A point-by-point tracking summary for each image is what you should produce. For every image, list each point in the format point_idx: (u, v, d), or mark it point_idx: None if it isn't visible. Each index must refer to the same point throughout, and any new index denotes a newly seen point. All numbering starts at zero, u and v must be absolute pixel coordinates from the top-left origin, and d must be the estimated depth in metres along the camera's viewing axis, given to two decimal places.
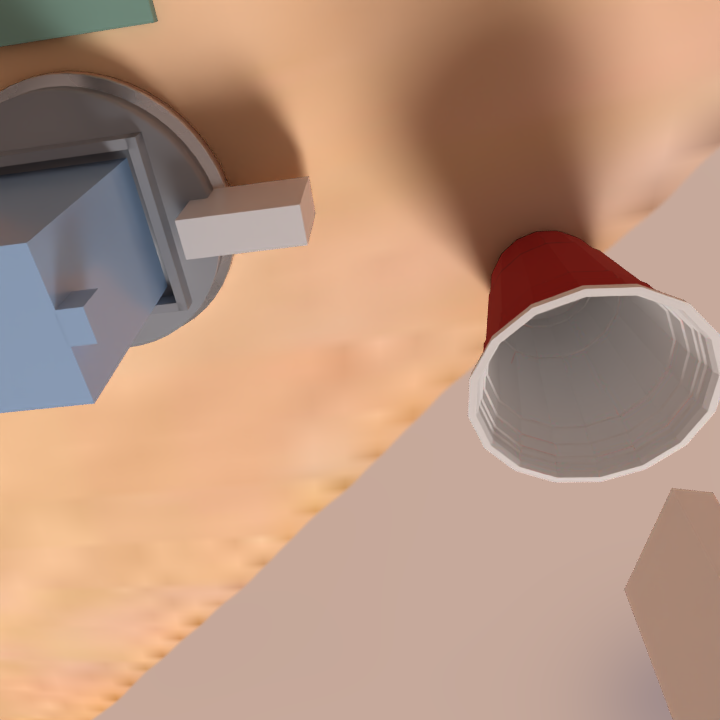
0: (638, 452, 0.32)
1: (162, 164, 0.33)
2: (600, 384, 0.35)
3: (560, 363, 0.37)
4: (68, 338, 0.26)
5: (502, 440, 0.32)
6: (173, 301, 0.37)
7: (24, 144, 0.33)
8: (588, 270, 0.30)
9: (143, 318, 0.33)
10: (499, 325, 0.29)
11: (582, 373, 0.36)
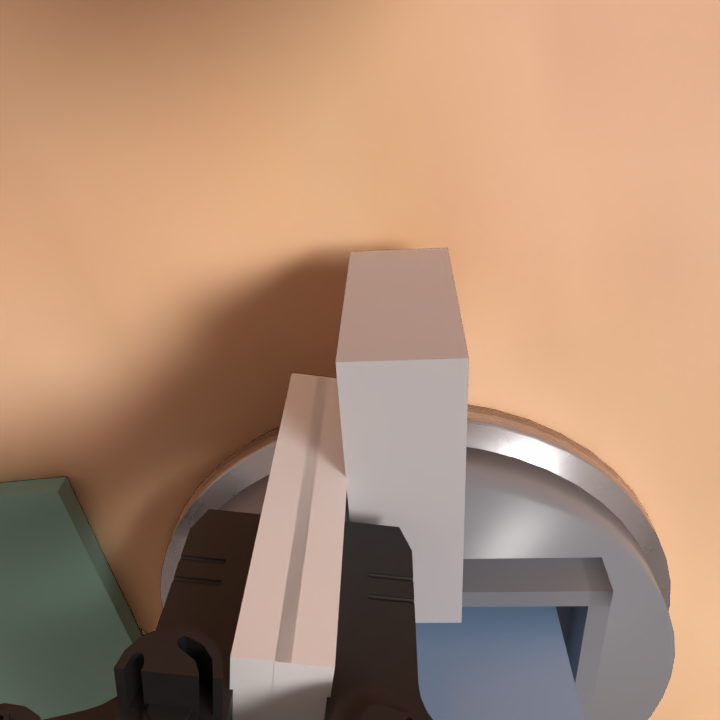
0: None
1: None
2: None
3: None
4: None
5: None
6: None
7: None
8: None
9: None
10: None
11: None
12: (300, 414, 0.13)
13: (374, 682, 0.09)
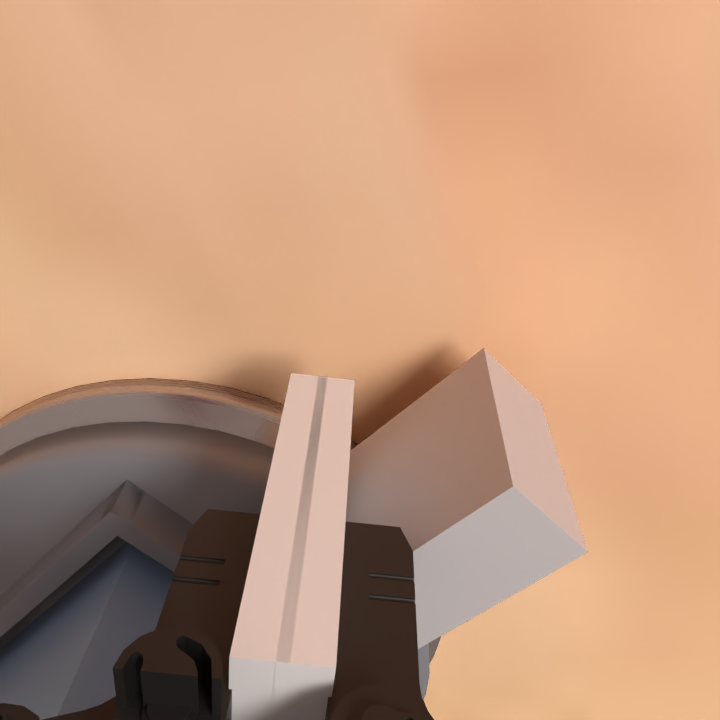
0: None
1: (201, 507, 0.15)
2: None
3: None
4: None
5: None
6: None
7: None
8: None
9: None
10: None
11: None
12: (300, 414, 0.13)
13: (375, 682, 0.09)
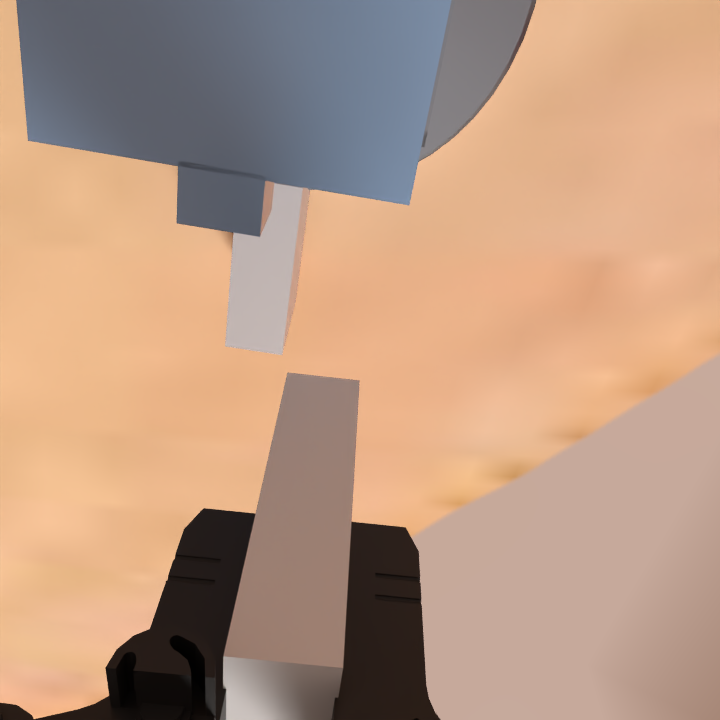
0: None
1: None
2: None
3: None
4: (195, 168, 0.12)
5: None
6: None
7: None
8: None
9: None
10: None
11: None
12: (296, 413, 0.13)
13: (382, 683, 0.09)
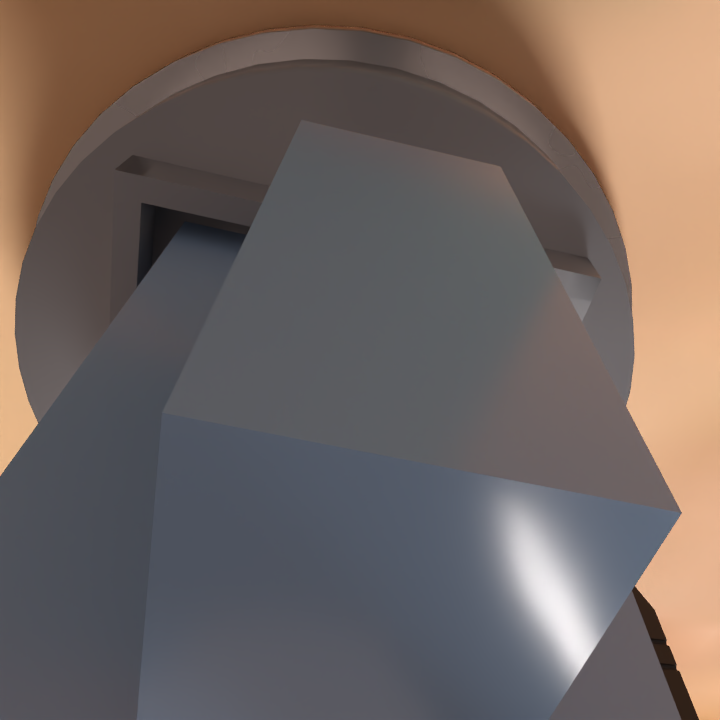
0: None
1: None
2: None
3: None
4: None
5: None
6: None
7: None
8: None
9: None
10: None
11: None
12: None
13: None
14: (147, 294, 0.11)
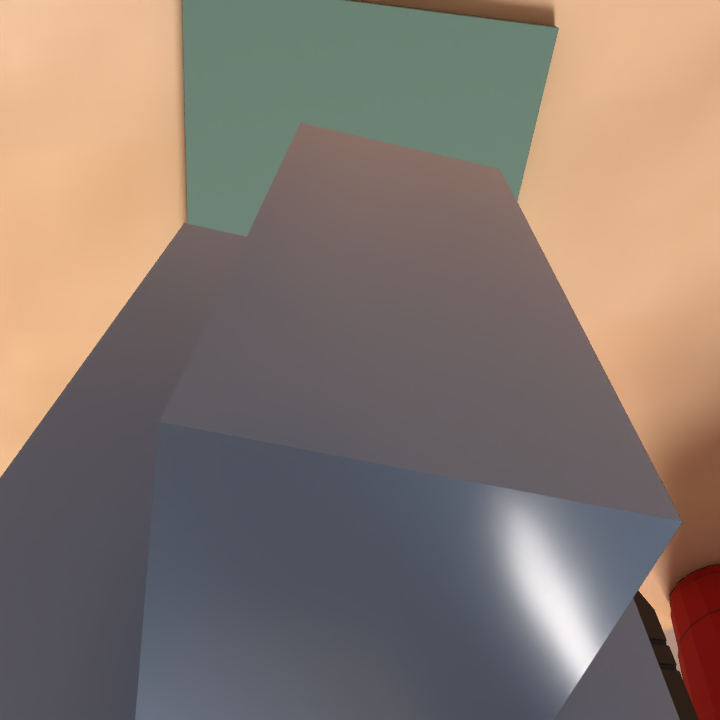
0: None
1: None
2: None
3: None
4: None
5: None
6: None
7: None
8: None
9: None
10: None
11: None
12: None
13: None
14: (146, 296, 0.11)
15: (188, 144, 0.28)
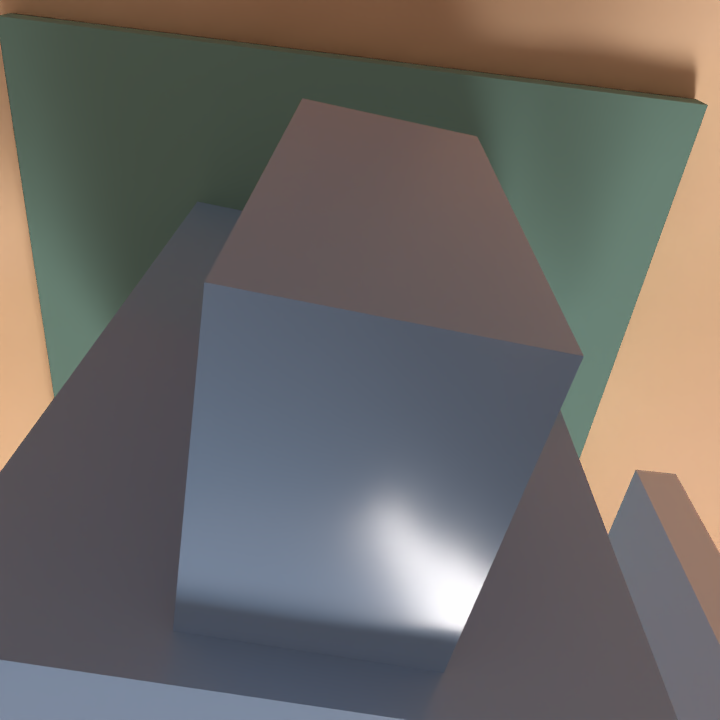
0: None
1: None
2: None
3: None
4: None
5: None
6: None
7: None
8: None
9: None
10: None
11: None
12: None
13: None
14: (166, 262, 0.12)
15: (43, 293, 0.16)
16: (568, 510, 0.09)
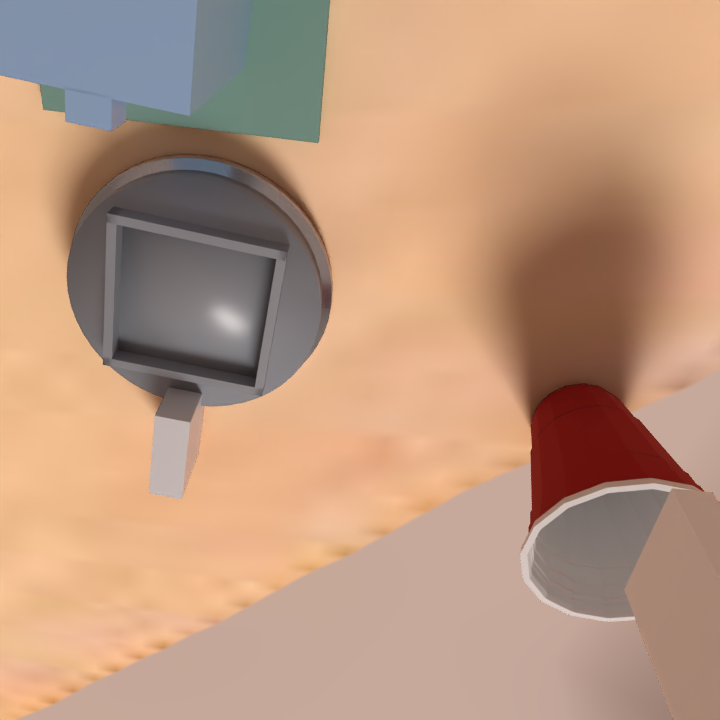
0: None
1: None
2: (614, 531, 0.41)
3: None
4: (74, 90, 0.23)
5: (537, 573, 0.37)
6: (113, 353, 0.39)
7: (283, 301, 0.37)
8: (644, 452, 0.35)
9: None
10: (566, 485, 0.34)
11: (598, 516, 0.42)
12: None
13: None
14: None
15: None
16: None
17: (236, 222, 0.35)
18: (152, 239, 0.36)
